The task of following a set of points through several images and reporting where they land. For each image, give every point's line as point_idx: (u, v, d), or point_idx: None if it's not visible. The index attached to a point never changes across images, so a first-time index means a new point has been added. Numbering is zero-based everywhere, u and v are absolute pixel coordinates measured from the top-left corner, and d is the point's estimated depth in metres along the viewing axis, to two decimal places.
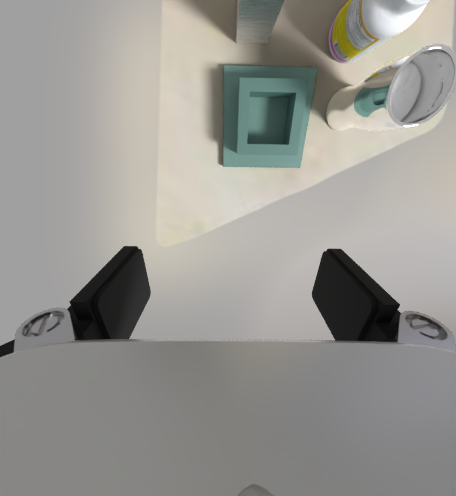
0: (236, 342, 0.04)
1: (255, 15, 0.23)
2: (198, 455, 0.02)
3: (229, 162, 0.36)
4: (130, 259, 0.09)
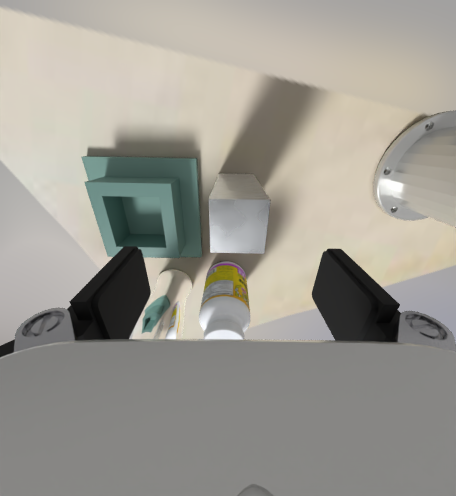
0: (236, 342, 0.04)
1: None
2: (198, 455, 0.02)
3: (90, 166, 0.25)
4: (130, 259, 0.09)
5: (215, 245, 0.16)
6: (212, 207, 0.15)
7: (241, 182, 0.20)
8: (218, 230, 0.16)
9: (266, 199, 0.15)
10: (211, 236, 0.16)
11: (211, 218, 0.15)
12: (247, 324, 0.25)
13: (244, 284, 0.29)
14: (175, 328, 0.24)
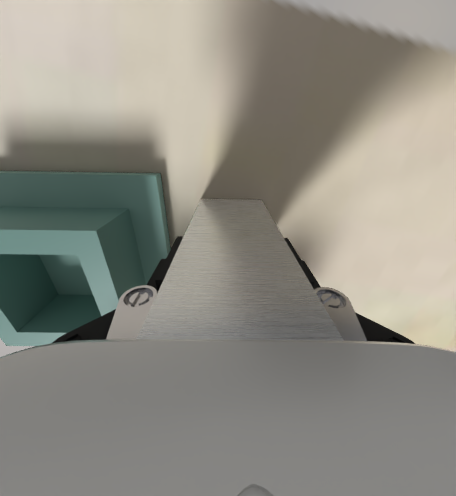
0: (236, 342, 0.04)
1: None
2: (198, 455, 0.02)
3: None
4: None
5: None
6: None
7: (242, 233, 0.09)
8: None
9: None
10: None
11: None
12: None
13: None
14: None
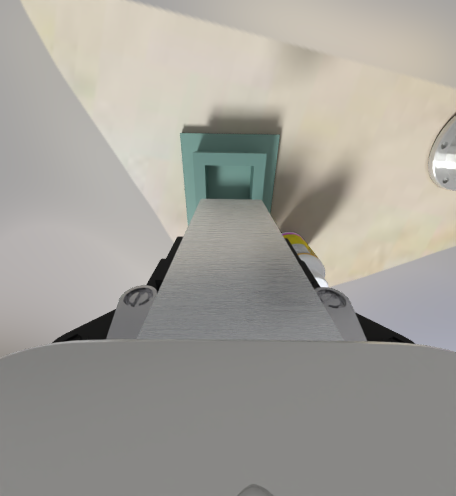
0: (236, 342, 0.04)
1: None
2: (198, 455, 0.02)
3: (186, 141, 0.28)
4: None
5: None
6: None
7: (242, 233, 0.09)
8: None
9: None
10: None
11: None
12: None
13: None
14: None
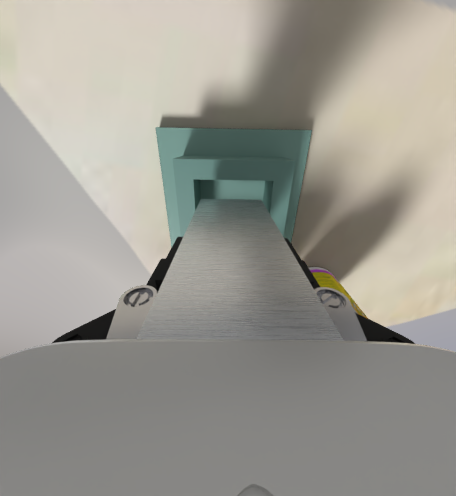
0: (236, 342, 0.04)
1: None
2: (198, 455, 0.02)
3: (165, 141, 0.18)
4: None
5: None
6: None
7: (242, 233, 0.09)
8: None
9: None
10: None
11: None
12: None
13: None
14: None
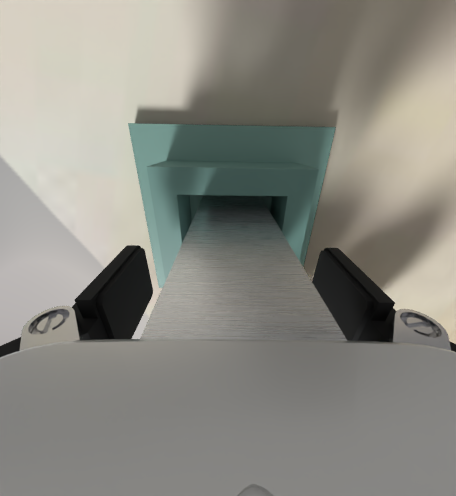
0: (236, 342, 0.04)
1: None
2: (198, 455, 0.02)
3: (142, 141, 0.14)
4: (133, 258, 0.09)
5: None
6: None
7: (242, 226, 0.10)
8: None
9: (334, 338, 0.04)
10: None
11: None
12: None
13: None
14: None
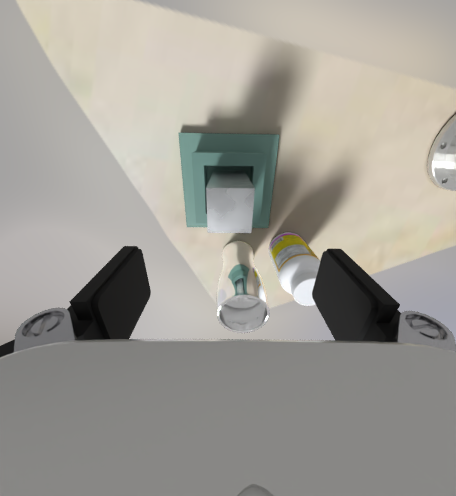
0: (236, 342, 0.04)
1: None
2: (198, 455, 0.02)
3: (184, 141, 0.28)
4: (130, 259, 0.09)
5: (211, 226, 0.20)
6: (209, 194, 0.19)
7: (233, 176, 0.24)
8: (213, 213, 0.20)
9: (251, 188, 0.19)
10: (208, 218, 0.20)
11: (208, 203, 0.19)
12: None
13: None
14: (263, 283, 0.28)
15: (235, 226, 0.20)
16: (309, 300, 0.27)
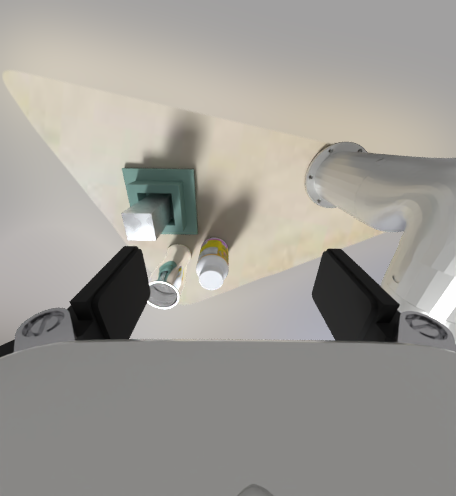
0: (236, 342, 0.04)
1: None
2: (198, 455, 0.02)
3: (126, 174, 0.40)
4: (130, 259, 0.09)
5: (129, 236, 0.32)
6: (124, 217, 0.30)
7: (153, 201, 0.36)
8: (129, 228, 0.31)
9: (150, 213, 0.30)
10: (126, 231, 0.31)
11: (124, 222, 0.31)
12: (226, 272, 0.40)
13: (225, 251, 0.44)
14: (181, 274, 0.39)
15: (144, 236, 0.32)
16: (211, 286, 0.38)
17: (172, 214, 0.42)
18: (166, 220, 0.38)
